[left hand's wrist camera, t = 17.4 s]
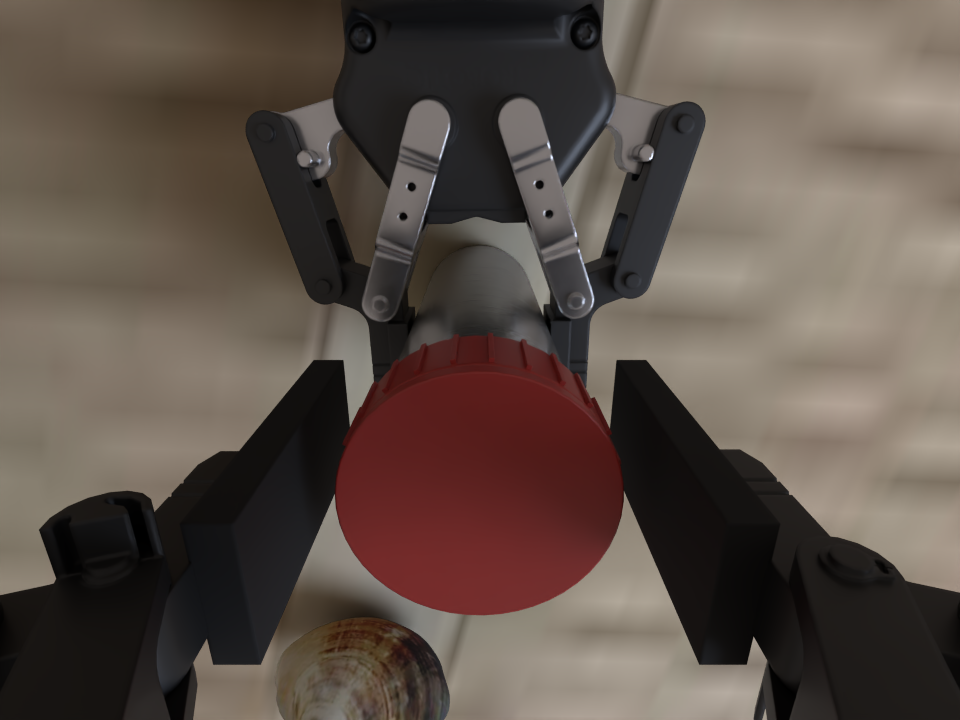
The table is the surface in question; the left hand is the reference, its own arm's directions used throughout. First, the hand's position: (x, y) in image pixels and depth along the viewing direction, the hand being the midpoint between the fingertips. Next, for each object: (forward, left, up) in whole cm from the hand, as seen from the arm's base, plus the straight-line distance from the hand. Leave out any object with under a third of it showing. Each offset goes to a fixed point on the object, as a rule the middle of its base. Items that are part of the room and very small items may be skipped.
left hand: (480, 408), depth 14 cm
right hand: (0, -3, -6) cm, 6 cm away
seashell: (-9, -19, -12) cm, 24 cm away
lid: (0, 0, +4) cm, 4 cm away
